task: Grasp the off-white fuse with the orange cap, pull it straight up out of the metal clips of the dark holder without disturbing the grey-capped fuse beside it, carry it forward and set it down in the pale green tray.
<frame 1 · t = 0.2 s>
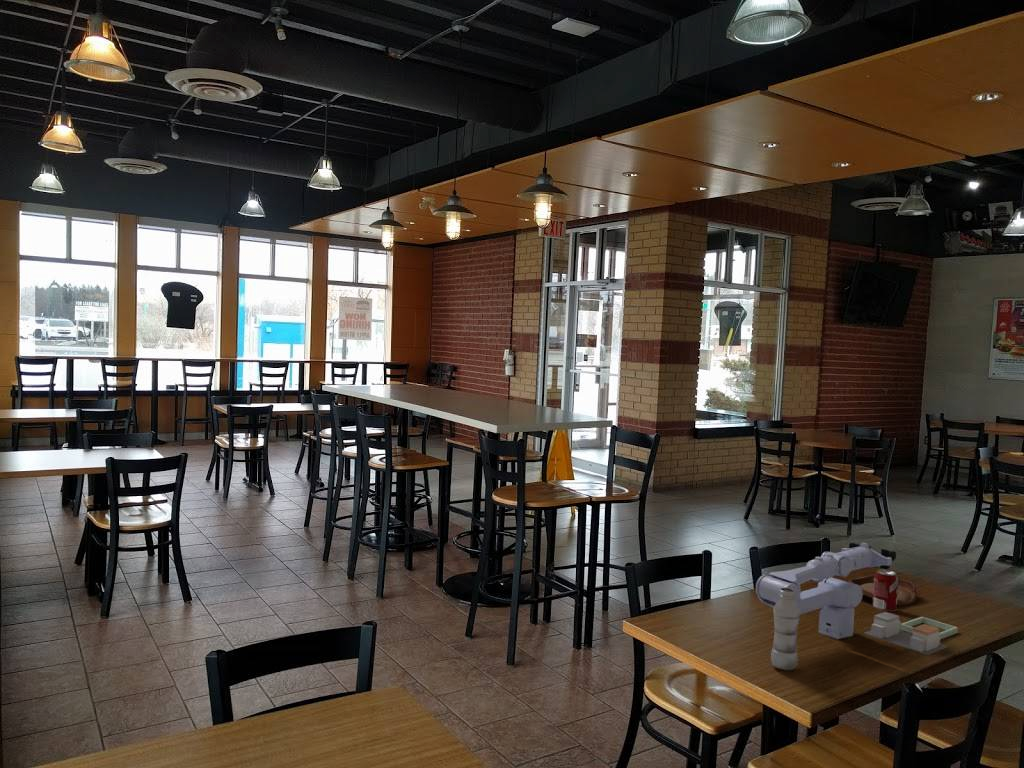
hand: (882, 552, 224), 21 cm above the table, tool horizontal, fingers open, 7 cm apart
plastic bottle: (783, 668, 191), on the table
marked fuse: (925, 646, 206), point 1 cm above the table, touching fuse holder
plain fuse: (885, 633, 215), point 1 cm above the table, touching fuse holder
basket: (880, 597, 251), on the table
soda can: (884, 610, 238), on the table
tray: (928, 633, 218), on the table
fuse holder: (904, 642, 211), on the table
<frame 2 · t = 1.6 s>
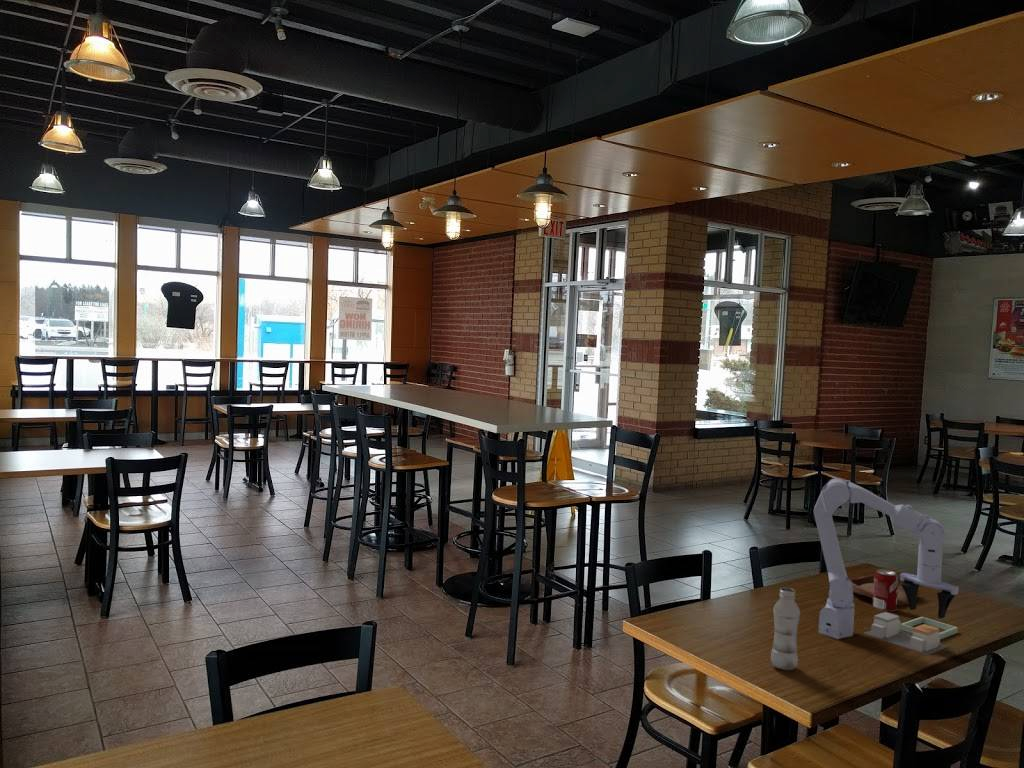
hand: (926, 613, 206), 10 cm above the table, tool pointing down, fingers open, 7 cm apart
nothing on the table moved.
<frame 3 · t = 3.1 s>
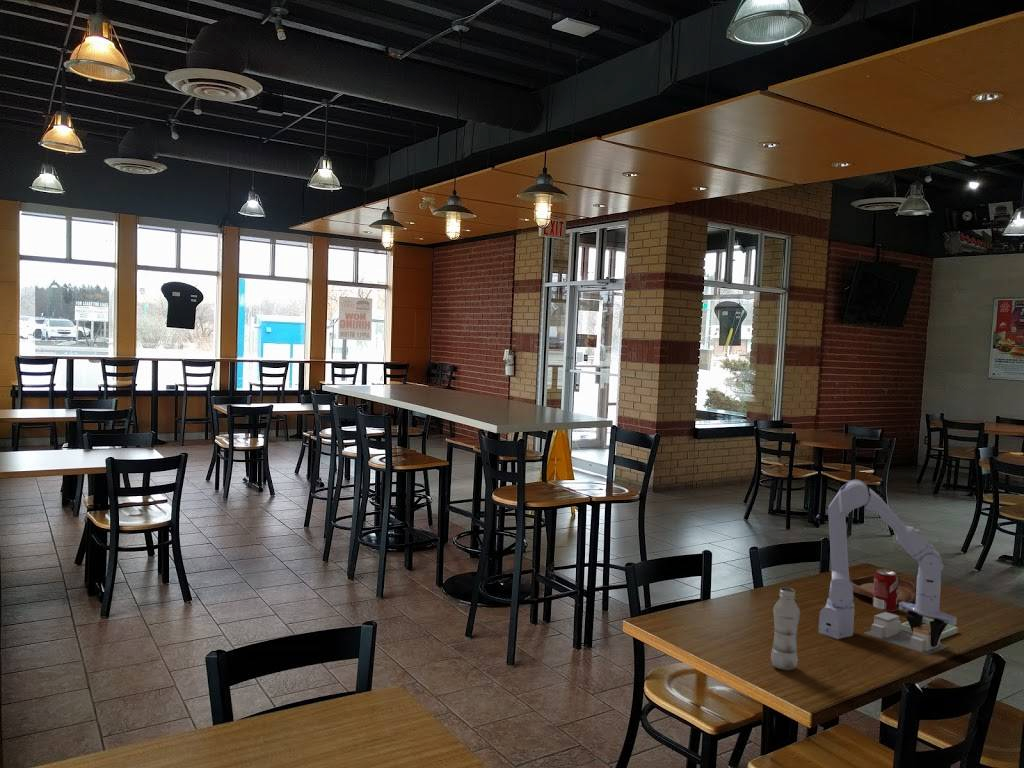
hand: (925, 643, 206), 2 cm above the table, tool pointing down, fingers closed on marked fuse, 4 cm apart
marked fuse: (925, 646, 206), point 1 cm above the table, touching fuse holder, gripper
everything else where it was.
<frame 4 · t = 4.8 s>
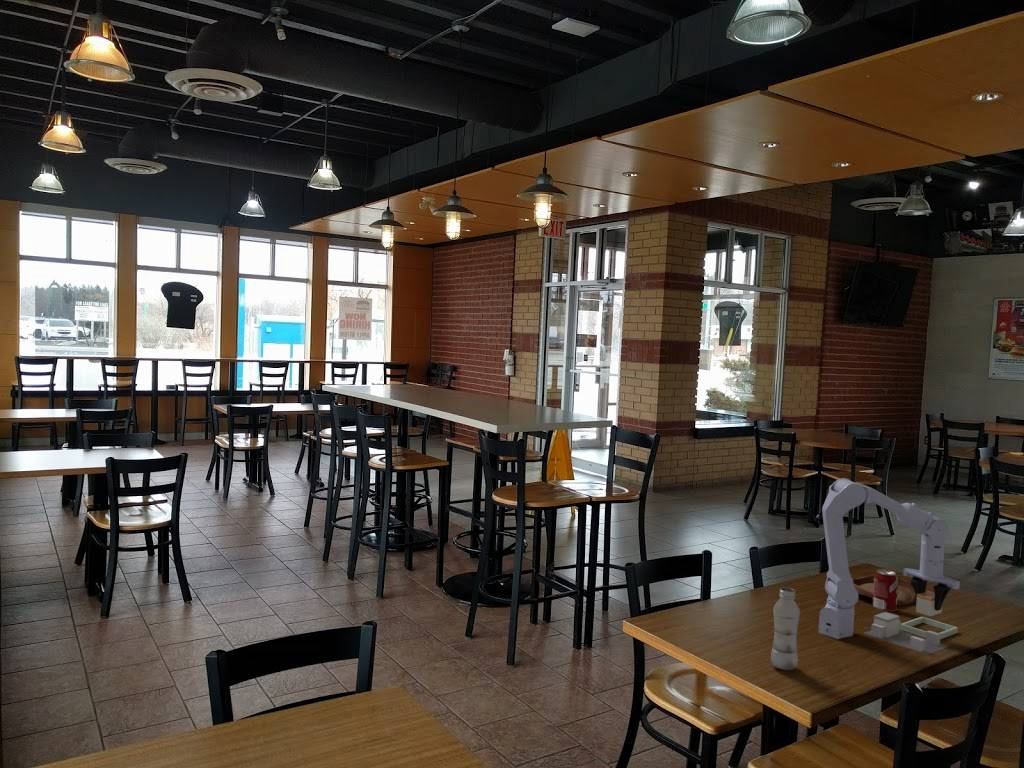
hand: (929, 607, 213), 9 cm above the table, tool pointing down, fingers closed on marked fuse, 4 cm apart
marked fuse: (928, 612, 213), point 8 cm above the table, touching gripper
everything else where it was.
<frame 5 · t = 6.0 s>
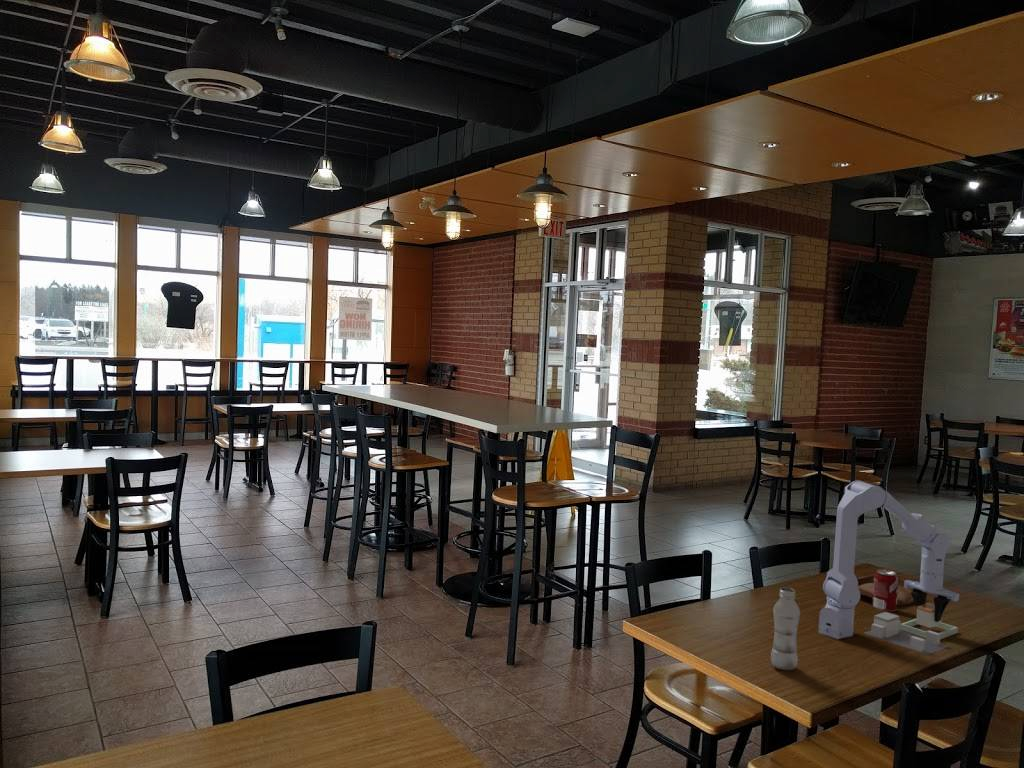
hand: (929, 618, 218), 4 cm above the table, tool pointing down, fingers closed on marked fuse, 4 cm apart
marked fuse: (928, 623, 218), point 3 cm above the table, touching gripper
everything else where it was.
when the fingers open (3 cm above the table, at t = 6.7 s): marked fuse stays where it is, resting on tray.
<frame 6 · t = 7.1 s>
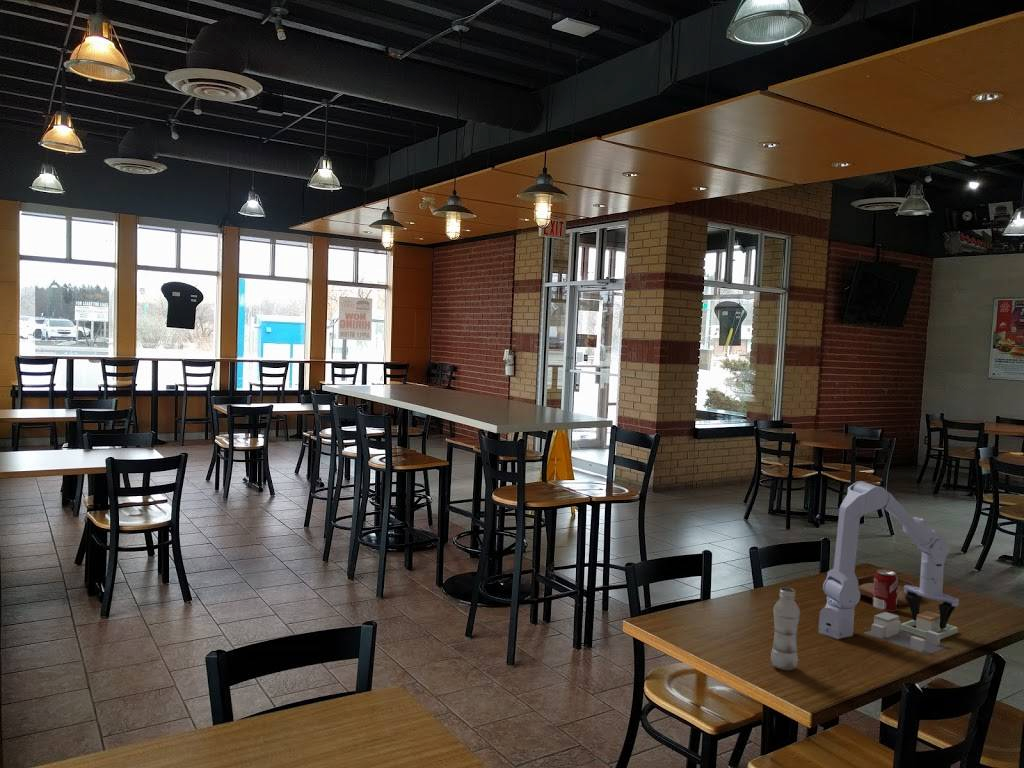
hand: (929, 623, 218), 3 cm above the table, tool pointing down, fingers open, 7 cm apart
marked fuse: (928, 632, 218), resting on tray
everything else where it was.
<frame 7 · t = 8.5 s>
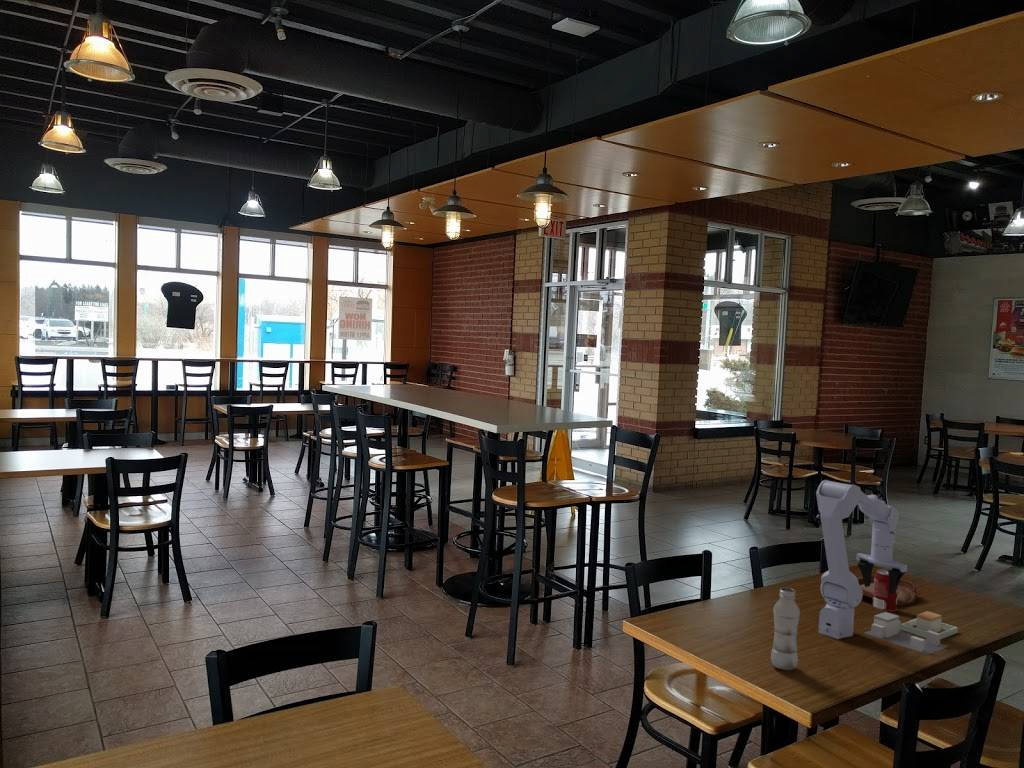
hand: (879, 589, 226), 10 cm above the table, tool pointing down, fingers open, 7 cm apart
nothing on the table moved.
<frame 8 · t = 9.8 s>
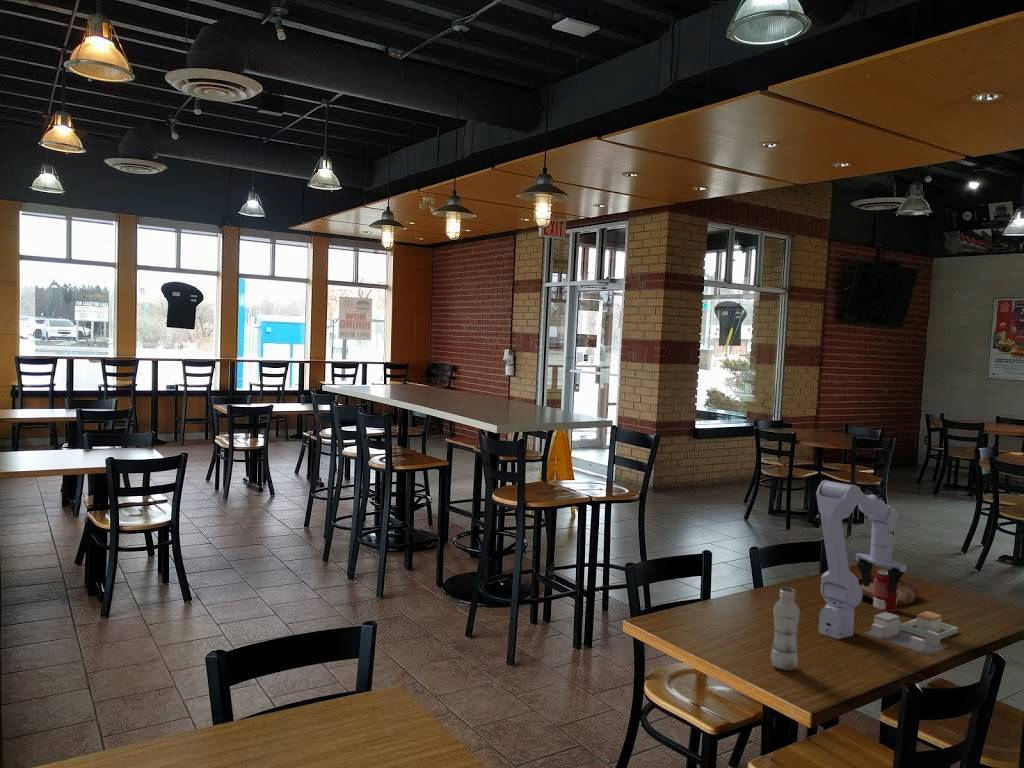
hand: (879, 589, 226), 10 cm above the table, tool pointing down, fingers open, 7 cm apart
nothing on the table moved.
at the end: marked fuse inside the target area on the tray (0.3 cm from its centre), point 0.5 cm above the tray's base; the gripper is holding nothing; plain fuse moved 0.0 cm from its start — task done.
